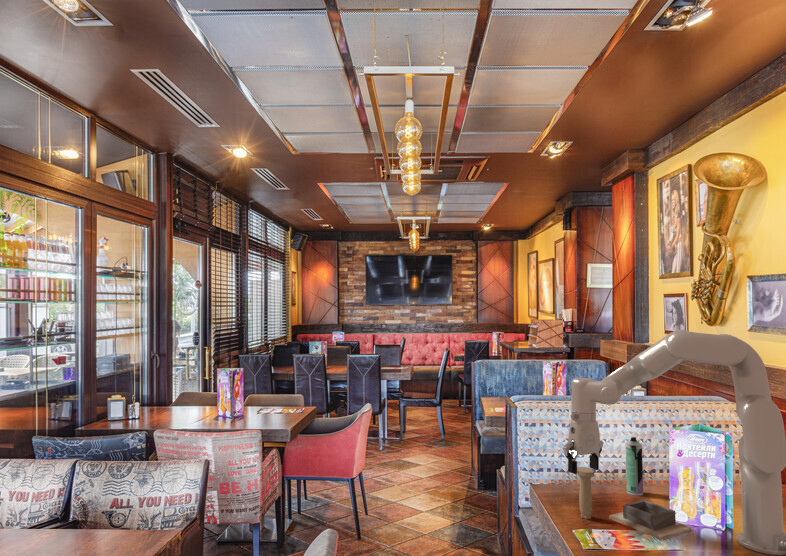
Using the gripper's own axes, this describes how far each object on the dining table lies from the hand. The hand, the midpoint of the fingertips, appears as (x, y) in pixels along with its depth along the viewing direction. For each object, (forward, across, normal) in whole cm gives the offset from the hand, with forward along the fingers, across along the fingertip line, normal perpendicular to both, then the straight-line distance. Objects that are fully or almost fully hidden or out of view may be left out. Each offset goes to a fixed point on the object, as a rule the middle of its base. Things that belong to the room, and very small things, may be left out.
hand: (583, 470), depth 172 cm
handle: (+15, 0, -1) cm, 15 cm away
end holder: (+14, +14, -14) cm, 24 cm away
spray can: (+14, +34, +7) cm, 38 cm away
